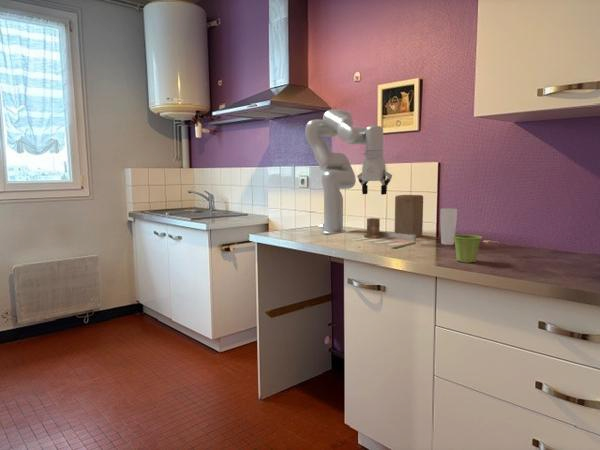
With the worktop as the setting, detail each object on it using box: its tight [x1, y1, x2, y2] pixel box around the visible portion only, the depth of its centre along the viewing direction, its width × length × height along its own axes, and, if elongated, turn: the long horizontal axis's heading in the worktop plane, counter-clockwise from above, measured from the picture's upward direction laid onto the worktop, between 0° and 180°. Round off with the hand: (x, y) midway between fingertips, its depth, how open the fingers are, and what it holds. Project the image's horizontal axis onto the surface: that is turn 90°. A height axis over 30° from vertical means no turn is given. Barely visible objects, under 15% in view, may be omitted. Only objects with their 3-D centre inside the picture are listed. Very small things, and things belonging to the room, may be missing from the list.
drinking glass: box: [439, 207, 458, 246], centre depth 185 cm, size 7×7×15 cm
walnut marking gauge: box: [363, 217, 382, 239], centre depth 195 cm, size 6×5×8 cm
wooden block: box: [393, 194, 424, 238], centre depth 200 cm, size 10×10×20 cm
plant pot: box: [452, 234, 483, 264], centre depth 150 cm, size 9×9×9 cm
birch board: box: [349, 230, 417, 250], centre depth 188 cm, size 23×16×4 cm
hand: (374, 194), depth 193 cm, fingers open, 9 cm apart
